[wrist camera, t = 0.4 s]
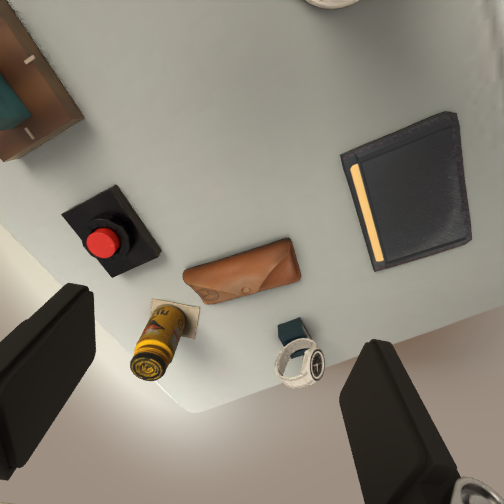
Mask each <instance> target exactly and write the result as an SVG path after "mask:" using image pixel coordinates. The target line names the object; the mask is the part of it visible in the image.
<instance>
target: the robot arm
mask: <svg viewBox="0 0 504 504" xmlns="http://www.w3.org/2000/svg"><path fill="white" fill-rule="evenodd" d="M305 1H307V2H308V3H310V4H312V5H315V6H317V7H320V8H327V9H336V8H343V7H346V6H348V5H351V4H354V3H355V2H357V1H359V0H305ZM95 353H96V342H95V317H94V294H93V292H91V291H89V288H88V287H87V286H84V285H78V284H73V283H67V284H66V285H64V286H63V287H62V288H61V289H60V290H59V291H58V292H57V293H56V294H55V295H54V296H53V297H52V298H50V300H48V301H47V302H46V303H45V304H44V305H43V306H42V307H41V308H40V309H39V310H38V311H37V312H35V313H34V314H33V315H32V316H31V317H30V318H29V319H27V320H25V321H23V322H22V323H21V324H19V325H18V326H17V327H16V328H15V329H14V330H13V331H12V332H11V333H10V334H9V335H8V336H6V337H5V338H4V339H3V340H2V341H1V342H0V479H1V480H9V479H10V477H11V476H12V474H13V472H14V471H15V470H16V468H21V467H23V466H24V465H25V464H26V462H27V461H28V460H29V458H30V457H31V455H32V454H33V452H34V451H35V449H36V447H37V446H38V444H39V443H40V441H41V440H42V438H43V437H44V435H45V433H46V432H47V431H48V429H49V428H50V426H51V425H52V423H53V421H54V420H55V418H56V417H57V415H58V414H59V412H60V411H61V409H62V408H63V406H64V405H65V403H66V402H67V400H68V398H69V397H70V395H71V394H72V392H73V391H74V389H75V388H76V386H77V385H78V383H79V382H80V380H81V378H82V377H83V375H84V374H85V372H86V371H87V369H88V368H89V366H90V365H91V363H92V362H93V360H94V357H95ZM339 403H340V407H341V411H342V415H343V419H344V423H345V427H346V431H347V435H348V439H349V442H350V446H351V451H352V455H353V459H354V463H355V466H356V470H357V474H358V478H359V482H360V486H361V490H362V494H363V497H364V502H365V504H504V500H503V499H502V497H501V496H500V495H499V494H498V493H496V492H495V491H494V490H493V489H492V488H491V487H489V486H488V485H486V484H485V483H483V482H481V481H480V480H477V479H474V478H472V477H460V475H459V473H458V471H457V466H456V464H455V462H454V460H453V458H452V457H451V455H450V453H449V451H448V449H447V447H446V445H445V443H444V441H443V440H442V438H441V436H440V434H439V432H438V430H437V428H436V426H435V425H434V423H433V421H432V419H431V417H430V415H429V413H428V411H427V409H426V408H425V406H424V404H423V402H422V400H421V398H420V396H419V394H418V392H417V390H416V389H415V387H414V385H413V383H412V381H411V379H410V378H409V375H408V374H407V372H406V370H405V368H404V366H403V364H402V362H401V360H400V358H399V357H398V355H397V353H396V351H395V349H394V347H393V345H392V344H391V343H390V342H387V341H381V340H376V339H372V340H371V341H370V342H367V343H365V345H364V346H363V348H362V350H361V352H360V355H359V357H358V359H357V361H356V363H355V365H354V367H353V369H352V371H351V373H350V375H349V377H348V379H347V381H346V383H345V385H344V387H343V389H342V391H341V393H340V397H339ZM0 504H10V503H1V502H0Z"/></svg>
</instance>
